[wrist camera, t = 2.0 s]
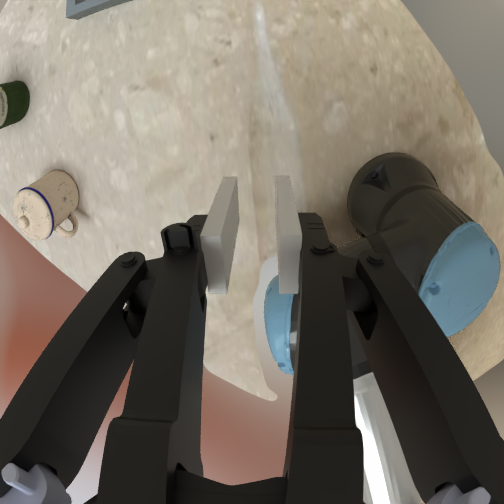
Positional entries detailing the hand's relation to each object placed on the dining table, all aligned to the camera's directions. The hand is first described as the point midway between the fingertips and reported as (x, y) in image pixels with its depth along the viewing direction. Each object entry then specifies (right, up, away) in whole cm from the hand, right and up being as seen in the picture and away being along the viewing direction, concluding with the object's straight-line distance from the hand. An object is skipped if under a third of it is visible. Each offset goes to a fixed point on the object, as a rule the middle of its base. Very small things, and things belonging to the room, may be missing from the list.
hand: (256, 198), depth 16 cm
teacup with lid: (-33, +7, +27) cm, 43 cm away
